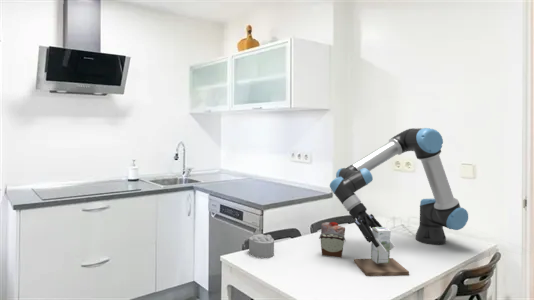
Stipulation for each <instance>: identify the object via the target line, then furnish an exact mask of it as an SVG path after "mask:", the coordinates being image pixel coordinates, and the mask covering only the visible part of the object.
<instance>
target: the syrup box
mask: <svg viewBox="0 0 534 300" xmlns="http://www.w3.org/2000/svg"><path fill="white" fill-rule="evenodd" d="M371 230H372V232H373V234H374V237H375V239H376V238H377V239H378V240H379V241H380V243H381V244H382V245H383V247H384V248H385V249H386V252H385V253H384V254H382V255H381V254H380V252H379V251H378V250H377V248H376V247H375V246H374V244H373V243H372V242H371V254H370V258H371V259H372V260H373V261H374V262H376V263H377V264H380V263H389V258H390V256H391V255H390V253H391V250H390V241H391V236H392V235H391V229H389V228H387V227H385V226H382V227H373V228H371Z"/></svg>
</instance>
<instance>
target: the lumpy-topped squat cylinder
mask: <svg viewBox="0 0 534 300" xmlns="http://www.w3.org/2000/svg"><path fill="white" fill-rule="evenodd" d="M248 253H249V254H250V255H251V256H253V257H254V258H255V257H256V258H260V259H271V258H273V257H274V256H275V239H274V238H273V237H272V235H271V234H263V233H259V234H254V235H252V236H249V237H248Z"/></svg>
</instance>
